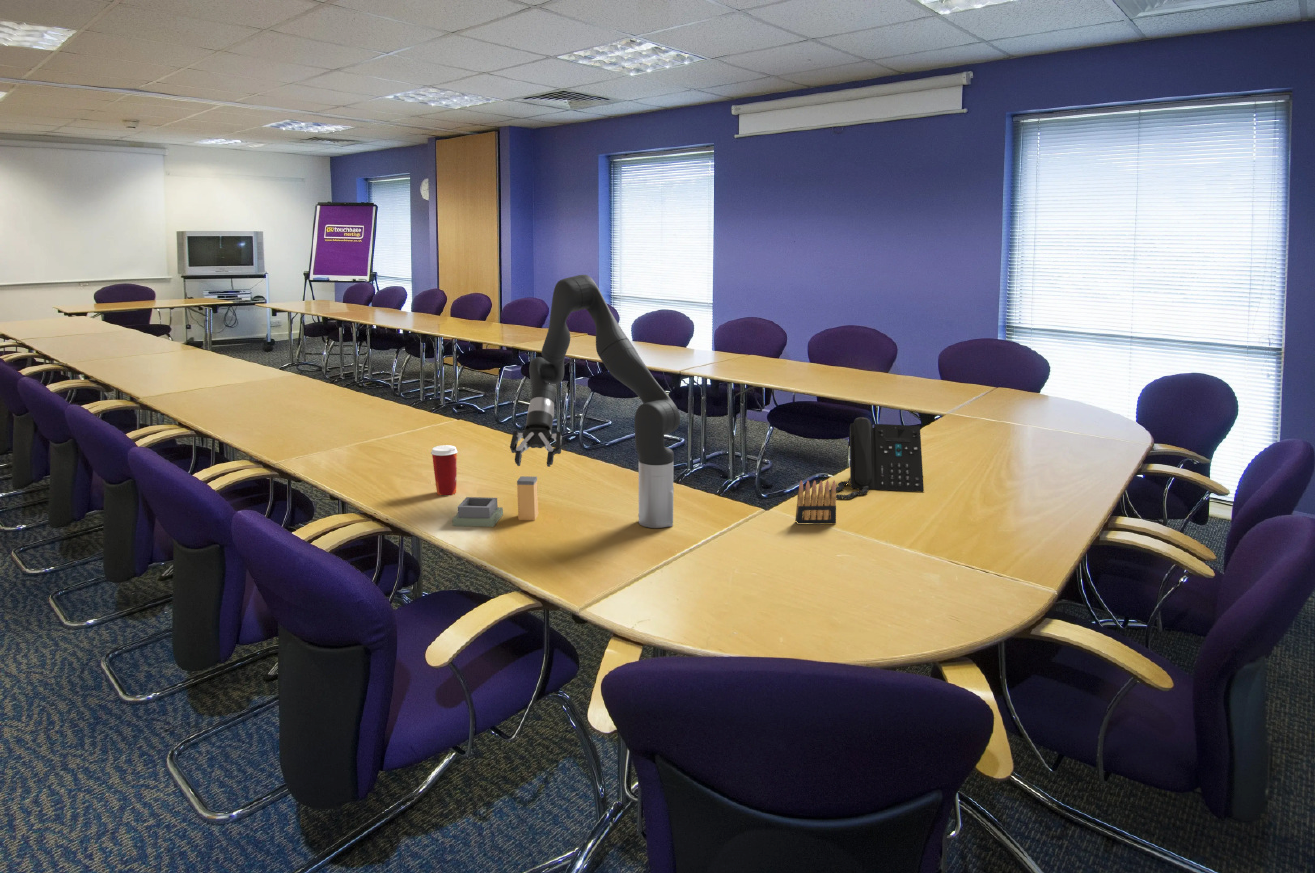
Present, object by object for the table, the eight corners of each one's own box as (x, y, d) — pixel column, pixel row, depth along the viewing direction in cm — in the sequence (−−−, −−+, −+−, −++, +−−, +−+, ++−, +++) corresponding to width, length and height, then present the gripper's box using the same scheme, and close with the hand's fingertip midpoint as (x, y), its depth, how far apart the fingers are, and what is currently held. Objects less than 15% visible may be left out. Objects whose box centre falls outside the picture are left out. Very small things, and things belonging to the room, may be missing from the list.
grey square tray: (503, 514, 222) (502, 497, 221) (493, 526, 213) (493, 508, 211) (463, 513, 223) (462, 496, 222) (452, 525, 213) (451, 507, 212)
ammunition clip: (834, 521, 218) (836, 479, 215) (836, 523, 216) (838, 481, 213) (795, 522, 218) (797, 479, 215) (796, 524, 216) (798, 481, 213)
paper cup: (465, 492, 242) (463, 446, 239) (446, 498, 236) (443, 452, 232) (447, 487, 246) (444, 443, 243) (427, 494, 240) (424, 448, 236)
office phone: (828, 500, 237) (831, 433, 233) (822, 473, 265) (825, 413, 260) (930, 504, 233) (936, 437, 229) (914, 477, 261) (919, 416, 256)
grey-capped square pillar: (538, 514, 222) (537, 476, 219) (534, 520, 218) (533, 481, 215) (522, 514, 222) (520, 476, 220) (518, 519, 218) (517, 481, 215)
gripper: (513, 408, 231) (505, 457, 222) (562, 409, 230) (556, 458, 221) (518, 423, 237) (510, 471, 229) (566, 423, 236) (560, 472, 228)
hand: (533, 465), depth 225 cm, fingers open, 8 cm apart
